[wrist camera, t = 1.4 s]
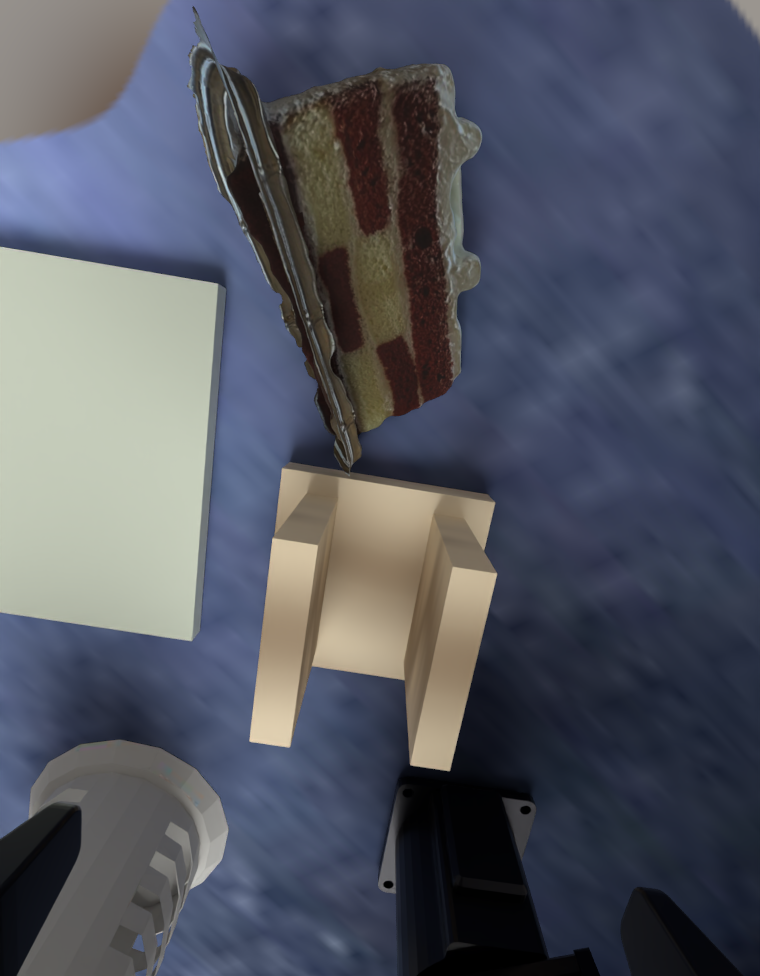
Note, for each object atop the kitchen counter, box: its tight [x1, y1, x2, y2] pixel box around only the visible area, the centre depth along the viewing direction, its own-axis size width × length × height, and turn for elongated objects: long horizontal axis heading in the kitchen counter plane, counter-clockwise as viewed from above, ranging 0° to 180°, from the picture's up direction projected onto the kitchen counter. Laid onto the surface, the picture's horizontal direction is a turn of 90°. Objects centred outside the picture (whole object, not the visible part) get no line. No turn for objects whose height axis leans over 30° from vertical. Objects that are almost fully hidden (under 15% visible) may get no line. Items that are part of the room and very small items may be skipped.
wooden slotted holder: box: [249, 462, 497, 771], centre depth 15 cm, size 8×8×6 cm
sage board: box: [0, 247, 226, 641], centre depth 17 cm, size 14×11×1 cm
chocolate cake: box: [187, 6, 482, 478], centre depth 14 cm, size 10×7×12 cm
